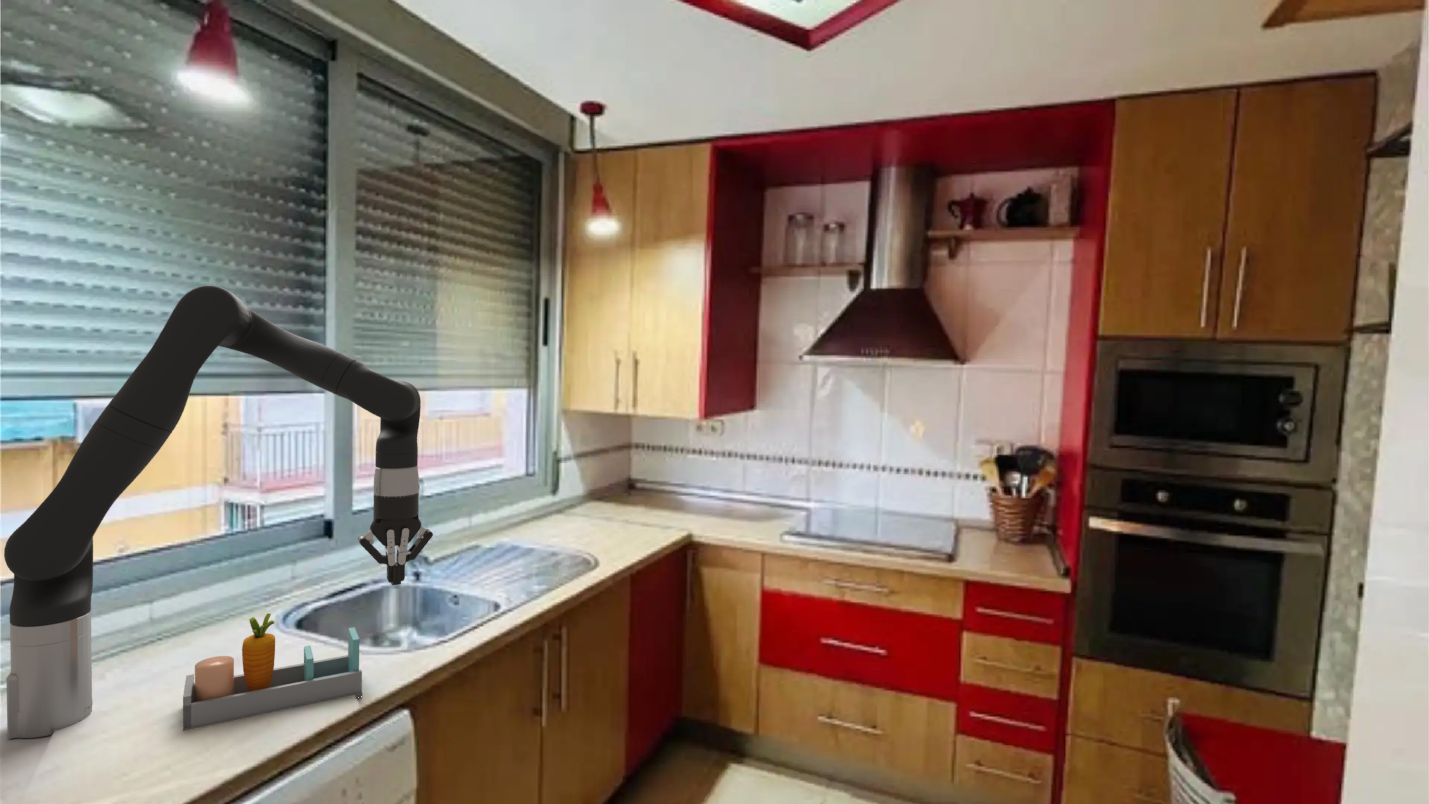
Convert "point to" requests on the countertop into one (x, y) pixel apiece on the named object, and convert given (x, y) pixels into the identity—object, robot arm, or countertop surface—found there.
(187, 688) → the tray
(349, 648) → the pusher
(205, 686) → the pink cylinder
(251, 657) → the carrot
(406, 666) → the countertop surface
